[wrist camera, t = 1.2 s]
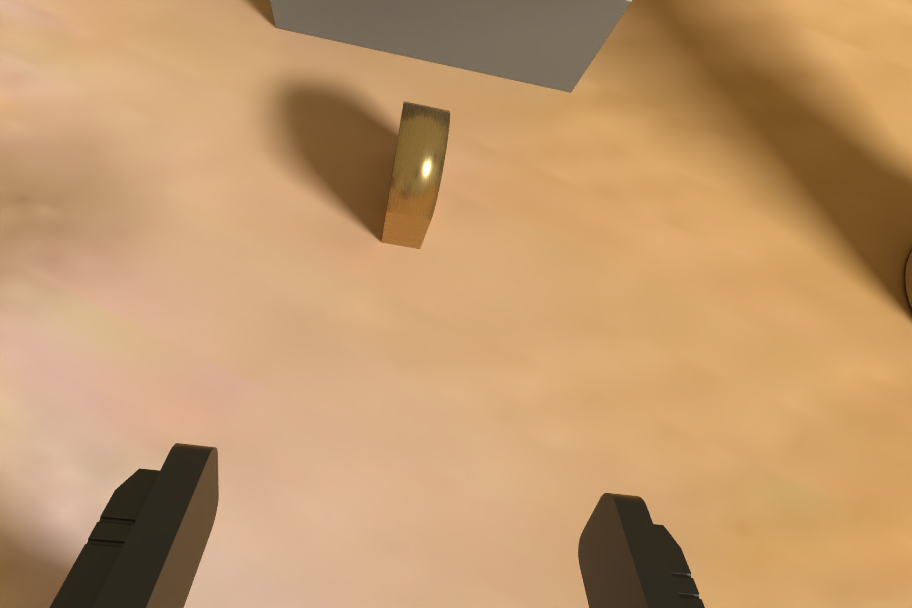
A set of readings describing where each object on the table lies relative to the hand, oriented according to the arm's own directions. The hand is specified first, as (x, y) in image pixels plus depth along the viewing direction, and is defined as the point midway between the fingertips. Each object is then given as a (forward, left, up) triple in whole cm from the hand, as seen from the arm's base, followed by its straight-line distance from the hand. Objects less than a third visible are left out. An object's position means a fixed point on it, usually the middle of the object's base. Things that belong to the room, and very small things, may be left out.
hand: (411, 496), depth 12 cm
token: (-2, -15, -22) cm, 27 cm away
